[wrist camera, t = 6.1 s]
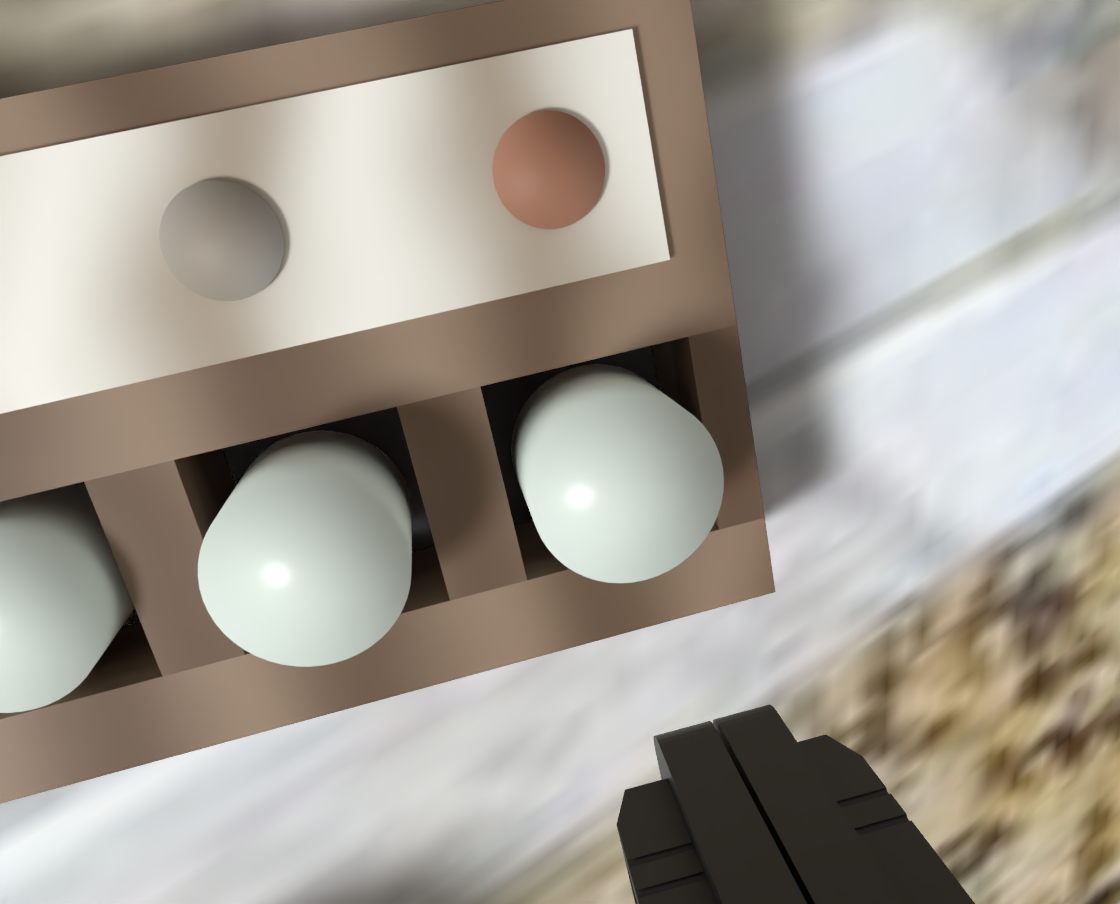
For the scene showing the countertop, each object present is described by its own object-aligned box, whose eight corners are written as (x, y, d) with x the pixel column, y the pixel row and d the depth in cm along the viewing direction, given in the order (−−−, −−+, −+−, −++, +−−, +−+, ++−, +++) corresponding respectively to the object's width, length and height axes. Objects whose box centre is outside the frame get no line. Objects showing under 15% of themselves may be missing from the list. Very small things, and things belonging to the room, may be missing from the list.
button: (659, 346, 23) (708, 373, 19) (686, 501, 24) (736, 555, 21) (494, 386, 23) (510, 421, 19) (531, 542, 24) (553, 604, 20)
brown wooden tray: (640, 5, 23) (690, -40, 19) (725, 539, 28) (780, 597, 24) (-262, 185, 21) (-431, 179, 17) (0, 731, 25) (-80, 832, 21)
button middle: (386, 411, 22) (380, 453, 18) (430, 568, 24) (433, 636, 20) (210, 454, 22) (167, 506, 18) (265, 611, 23) (236, 689, 19)
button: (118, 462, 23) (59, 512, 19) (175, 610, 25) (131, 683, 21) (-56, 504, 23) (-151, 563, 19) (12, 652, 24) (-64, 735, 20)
